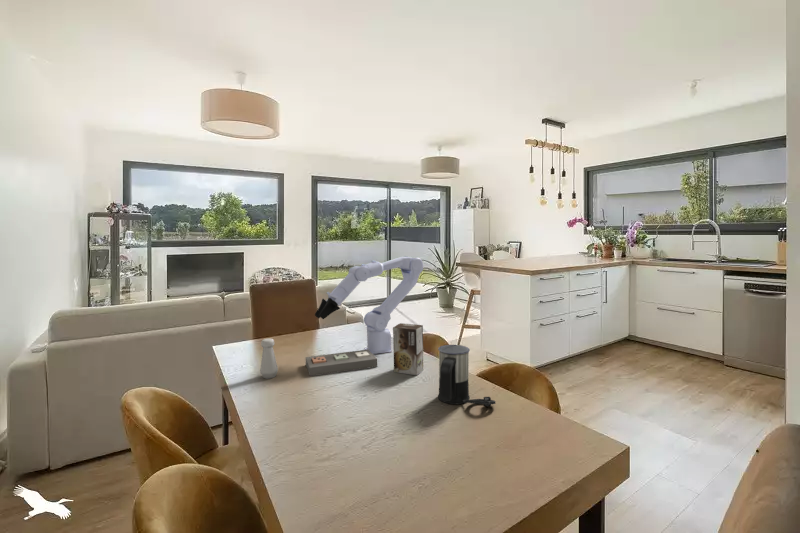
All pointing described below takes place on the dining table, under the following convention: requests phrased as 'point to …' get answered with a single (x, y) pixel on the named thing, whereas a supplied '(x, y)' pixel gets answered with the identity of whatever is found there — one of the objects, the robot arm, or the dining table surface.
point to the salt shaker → (268, 359)
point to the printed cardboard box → (408, 348)
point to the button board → (340, 363)
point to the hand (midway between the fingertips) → (318, 317)
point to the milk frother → (456, 376)
